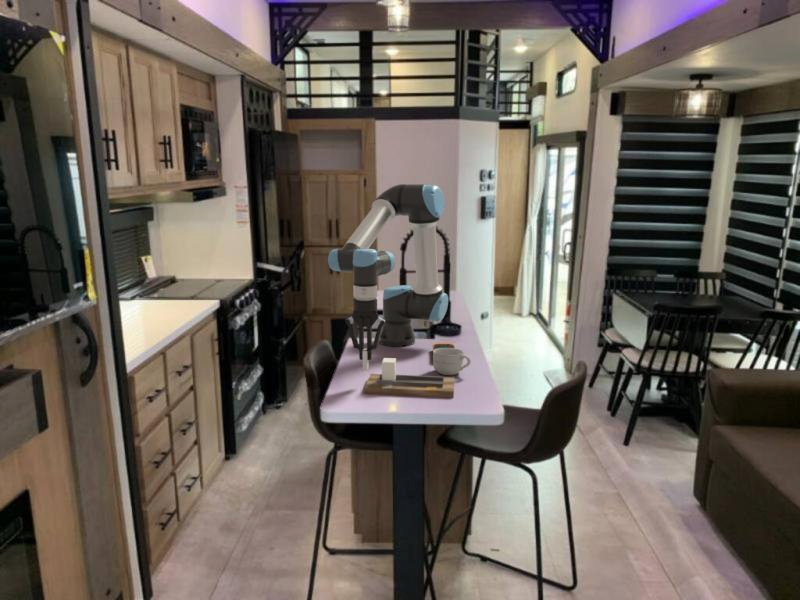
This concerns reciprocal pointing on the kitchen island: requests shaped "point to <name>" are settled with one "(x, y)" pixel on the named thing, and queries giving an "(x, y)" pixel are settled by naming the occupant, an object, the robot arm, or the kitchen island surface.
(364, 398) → the kitchen island surface
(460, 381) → the kitchen island surface
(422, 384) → the wooden slider track
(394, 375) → the switch knob
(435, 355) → the teacup
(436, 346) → the multimeter
